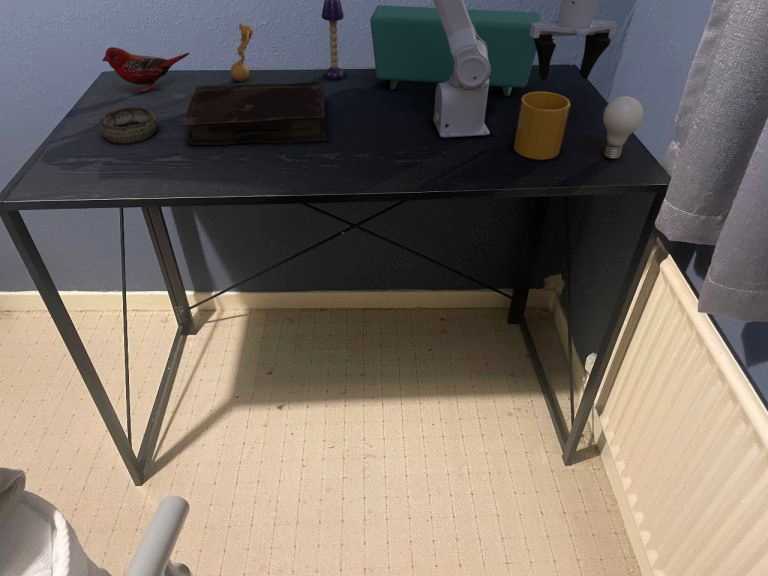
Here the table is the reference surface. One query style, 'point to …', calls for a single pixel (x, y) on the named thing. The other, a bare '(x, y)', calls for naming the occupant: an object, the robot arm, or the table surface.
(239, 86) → the diary
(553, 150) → the mug
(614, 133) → the lightbulb
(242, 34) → the figurine
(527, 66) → the radio
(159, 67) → the decorative bird figurine
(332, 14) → the toy lamp
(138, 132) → the decorative ring
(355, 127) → the table surface
